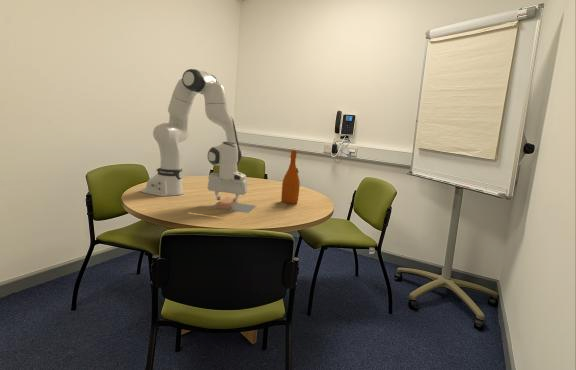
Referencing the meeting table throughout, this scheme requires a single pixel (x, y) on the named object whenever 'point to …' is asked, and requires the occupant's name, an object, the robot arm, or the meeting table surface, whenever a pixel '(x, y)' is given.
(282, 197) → the wine bottle
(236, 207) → the mat
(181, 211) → the meeting table surface
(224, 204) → the tile
